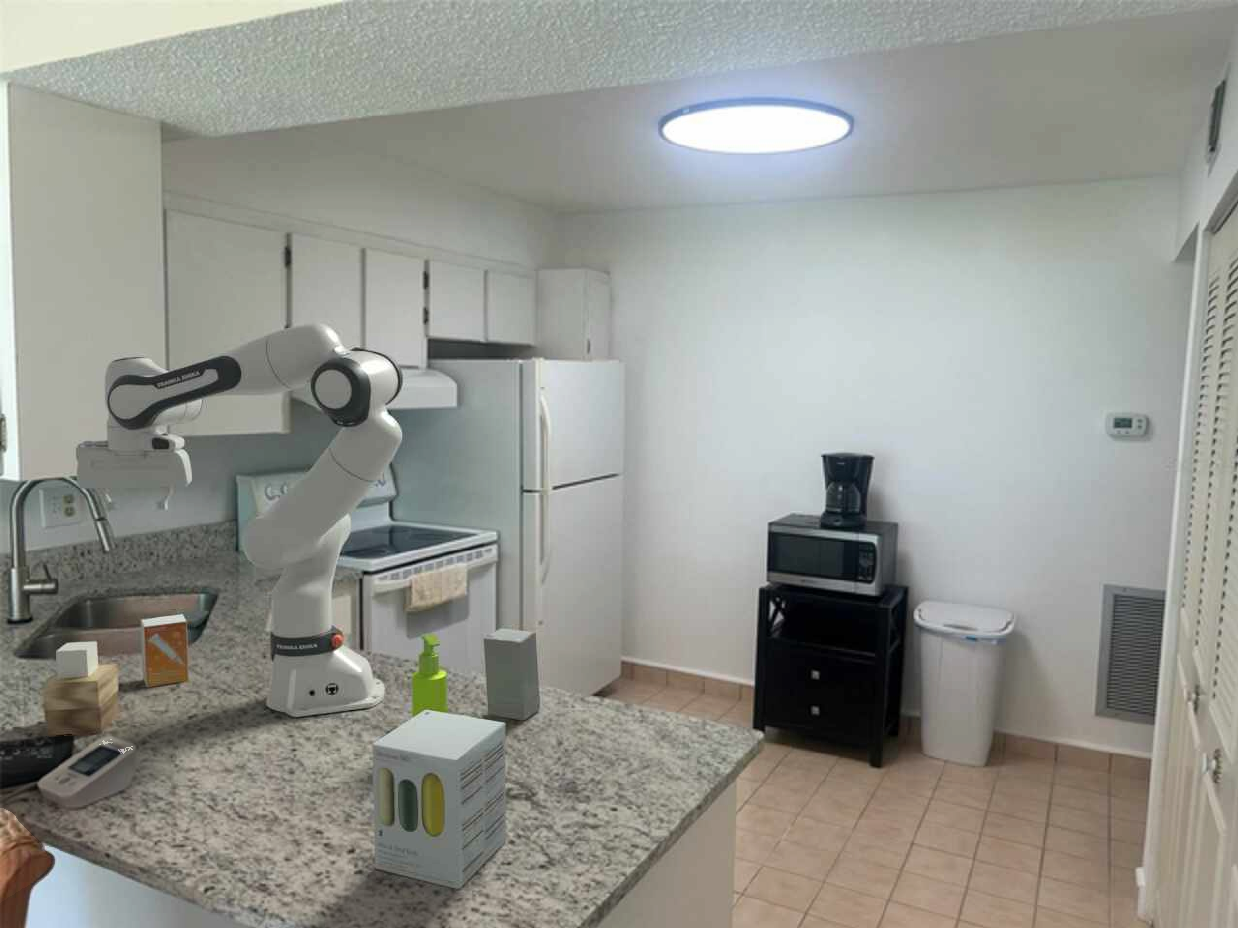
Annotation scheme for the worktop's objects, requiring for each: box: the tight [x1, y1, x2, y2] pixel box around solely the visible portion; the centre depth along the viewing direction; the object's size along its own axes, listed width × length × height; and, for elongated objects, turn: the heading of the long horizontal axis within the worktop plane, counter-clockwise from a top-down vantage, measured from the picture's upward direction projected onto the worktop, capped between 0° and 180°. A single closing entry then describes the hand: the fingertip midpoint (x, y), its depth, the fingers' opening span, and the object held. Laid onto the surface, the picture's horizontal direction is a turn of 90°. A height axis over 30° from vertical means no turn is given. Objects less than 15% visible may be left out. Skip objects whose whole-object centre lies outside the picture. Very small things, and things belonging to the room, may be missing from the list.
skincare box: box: [483, 627, 541, 721], centre depth 171 cm, size 8×7×16 cm
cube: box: [55, 640, 99, 678], centre depth 163 cm, size 5×5×5 cm
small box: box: [140, 613, 190, 688], centre depth 187 cm, size 8×6×13 cm
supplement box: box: [371, 710, 507, 890], centre depth 121 cm, size 13×13×18 cm
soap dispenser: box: [411, 633, 448, 718], centre depth 155 cm, size 6×7×20 cm
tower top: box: [41, 663, 119, 712], centre depth 164 cm, size 9×9×5 cm
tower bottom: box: [44, 690, 120, 737], centre depth 164 cm, size 9×9×5 cm
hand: (136, 510), depth 177 cm, fingers open, 8 cm apart
